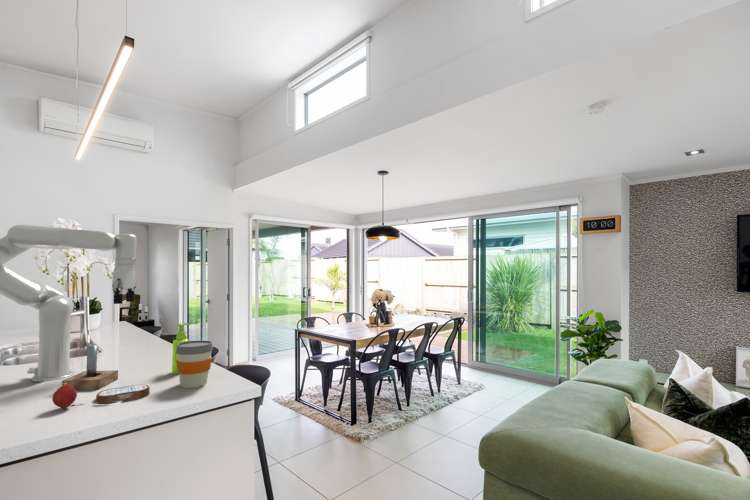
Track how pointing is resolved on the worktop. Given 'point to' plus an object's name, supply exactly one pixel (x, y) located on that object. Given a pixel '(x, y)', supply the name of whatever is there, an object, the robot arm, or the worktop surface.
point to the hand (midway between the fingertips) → (124, 302)
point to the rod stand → (92, 380)
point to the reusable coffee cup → (194, 362)
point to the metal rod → (91, 361)
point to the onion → (64, 396)
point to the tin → (122, 394)
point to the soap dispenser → (180, 338)
